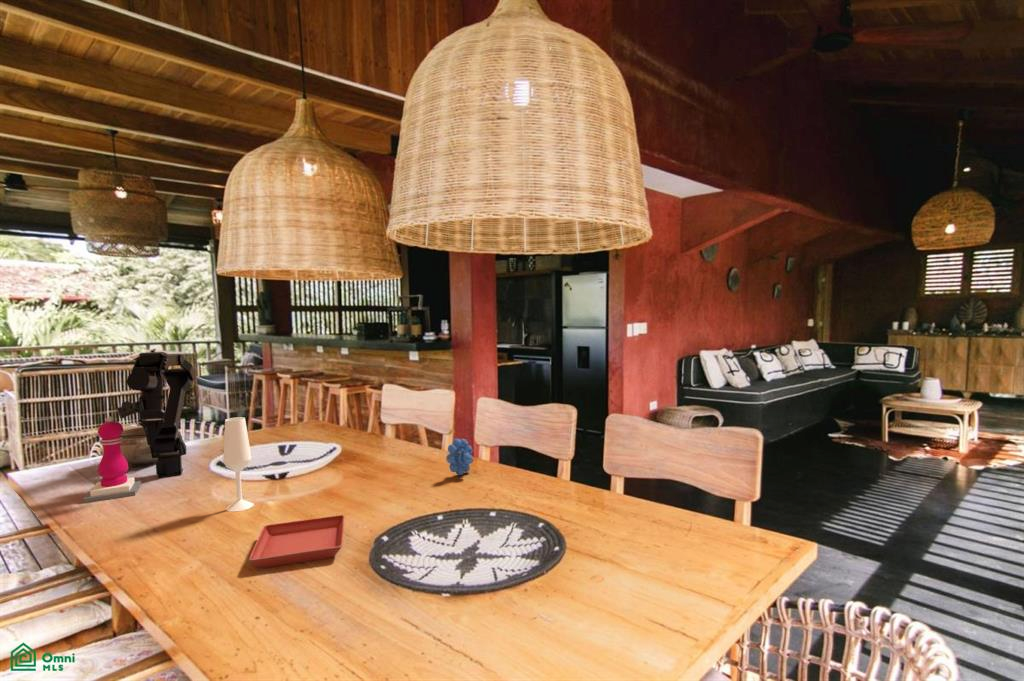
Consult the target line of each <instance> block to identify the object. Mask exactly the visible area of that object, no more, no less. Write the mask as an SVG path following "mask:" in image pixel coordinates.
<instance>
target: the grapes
mask: <svg viewBox="0 0 1024 681" xmlns="http://www.w3.org/2000/svg"><path fill="white" fill-rule="evenodd" d="M447 452H448V454H447V455H446V457H445V459H446V462H447V463H448V464H449V470H450V472H452V473H456V475H457V476H462V475H464V473H468V472H469V471H470V469H471V466H470V464H472V463H473V462H474V457H473V455H471V454H472V453H473V447H472V446H471V445H469V442H468V440H467V439H466V438H461V439H459V438H457V437H456V438H454V439H453V441H452V443H451V444H449V445H448V446H447Z"/></svg>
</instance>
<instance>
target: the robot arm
mask: <svg viewBox="0 0 1024 681" xmlns="http://www.w3.org/2000/svg"><path fill="white" fill-rule="evenodd" d="M172 366H176V367H177V366H179V368H178V367H177V368H173V367H172ZM169 367H172V368H169ZM162 373H163V374H162ZM164 380H165V382H166V384H167V385H168V388H169V391H168V396H167V401H166V404H165V410H164V408H163V407H164V397H165V396H164ZM195 380H196V371H195V368H194V365H193V364H192V363H190V362H189V361H188V360H186V359H185V357H184V355H183V354H181V353H167V352H164V351H156V352H155V351H153V352H152V351H149V352H139V354H138V356H137V357H136V359H135V361H134V364H133V367H132V370H131V373H130V374H129V375H128V376H127V379H126V384H127V386H128V388H129V389H131V390H133V391H138V392H140V395H139V397H138V401H135V402H130V401H128V400H126V401H124V402H121V406H119V407H117V408H116V411H117V414H118V417H119V418H120V419H121V420H122V419H125V418H127V417H128V416H131V415H134V414H137V413H138V416H137V423H138V426H142V427H143V428H144V430H145V434H146V439H147V444H148V445H150V450H151V455H152V458H158V460H157V461H156V462H155V469H156V470H155V471H156V475H157V478H158V479H160V478H161V479H162V478H166V477H167V478H168V477H173V476H174V477H176V476H181V475H183V471H184V469H183V463H182V461H183V460H182V456H186V455H187V450H188V449H187V445H186V443H185V441H184V440H183V436H182V434H181V432H180V431H179V425H180V420H181V416H182V412H183V407H184V401H185V395H186V393H187V392H188V391H189V390H190V389H192V387H193V385H194V381H195Z"/></svg>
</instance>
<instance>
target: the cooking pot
mask: <svg viewBox="0 0 1024 681" xmlns="http://www.w3.org/2000/svg"><path fill="white" fill-rule="evenodd" d="M120 437H122V442H120V449H121V453H122V455H123V456H124V458H125V459H126V461H127V463H128V466H131V467H145V466H149V465H153V464H156V462H157V461H158V458H152V455H151V450H150V445H148V444H147V439H146V434H145V430H144V428H143V427H142V426H141V425H135V426H129V427H123V433H122V434H121V436H120Z"/></svg>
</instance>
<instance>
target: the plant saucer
mask: <svg viewBox="0 0 1024 681" xmlns="http://www.w3.org/2000/svg"><path fill="white" fill-rule="evenodd" d="M345 518H346V517H345V515H343V514H341V515H338V514H337V515H331V516H324V517H316V518H315V517H314V518H308V519H303V520H302V519H301V520H296V521H295V520H294V521H288V522H280V523H272V524H271V523H270V524H266V525H264V526H263V527H262V529H261V531H260V534H259V536H258V538H257V540H256V543H255V545H254V546H253V549H252V551H251V554H250V556H249V558H248V560H249V561H250V563H252V564H254V565H255V566H257V567H259V568H270V567H276V566H284V565H289V564H296V563H302V562H303V563H304V562H311V561H316V560H323V559H331V558H334V557H335V556H336V555H337V554H338V553H339V551H340V550H341V548H342V546H343V544H344V543H343V541H344V530H345Z"/></svg>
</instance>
